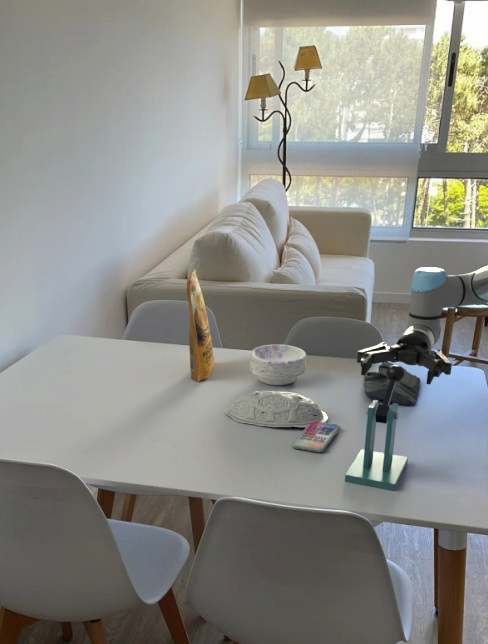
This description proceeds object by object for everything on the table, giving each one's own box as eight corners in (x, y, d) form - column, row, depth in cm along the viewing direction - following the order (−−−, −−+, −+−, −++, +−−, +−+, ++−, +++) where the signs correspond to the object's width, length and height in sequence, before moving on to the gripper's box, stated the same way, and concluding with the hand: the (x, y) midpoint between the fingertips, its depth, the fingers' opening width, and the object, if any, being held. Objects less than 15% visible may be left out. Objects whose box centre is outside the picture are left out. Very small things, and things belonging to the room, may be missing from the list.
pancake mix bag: (181, 383, 192) (178, 279, 180) (195, 361, 209) (193, 265, 197) (205, 384, 191) (203, 280, 179) (217, 362, 208) (216, 266, 196)
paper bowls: (275, 393, 185) (276, 365, 182) (238, 378, 196) (238, 350, 192) (316, 381, 194) (318, 353, 190) (279, 367, 204) (280, 340, 201)
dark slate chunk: (354, 401, 180) (356, 384, 178) (365, 373, 199) (367, 357, 197) (416, 408, 176) (418, 390, 174) (421, 379, 195) (423, 363, 193)
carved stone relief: (321, 430, 161) (321, 402, 159) (217, 424, 168) (216, 396, 166) (333, 412, 175) (333, 386, 173) (236, 407, 182) (236, 382, 180)
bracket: (360, 455, 152) (366, 390, 146) (407, 463, 149) (415, 398, 142) (344, 481, 141) (350, 413, 135) (394, 490, 138) (402, 421, 132)
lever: (388, 372, 148) (388, 360, 145) (406, 374, 147) (406, 362, 144) (372, 423, 141) (371, 411, 138) (390, 426, 139) (389, 414, 137)
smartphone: (290, 444, 155) (311, 419, 167) (290, 448, 155) (311, 423, 167) (322, 449, 152) (341, 424, 164) (322, 454, 152) (341, 428, 165)
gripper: (468, 368, 160) (455, 399, 143) (360, 354, 169) (335, 382, 152) (473, 336, 157) (460, 364, 140) (363, 323, 166) (338, 348, 149)
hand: (395, 373), depth 146 cm, fingers open, 13 cm apart
